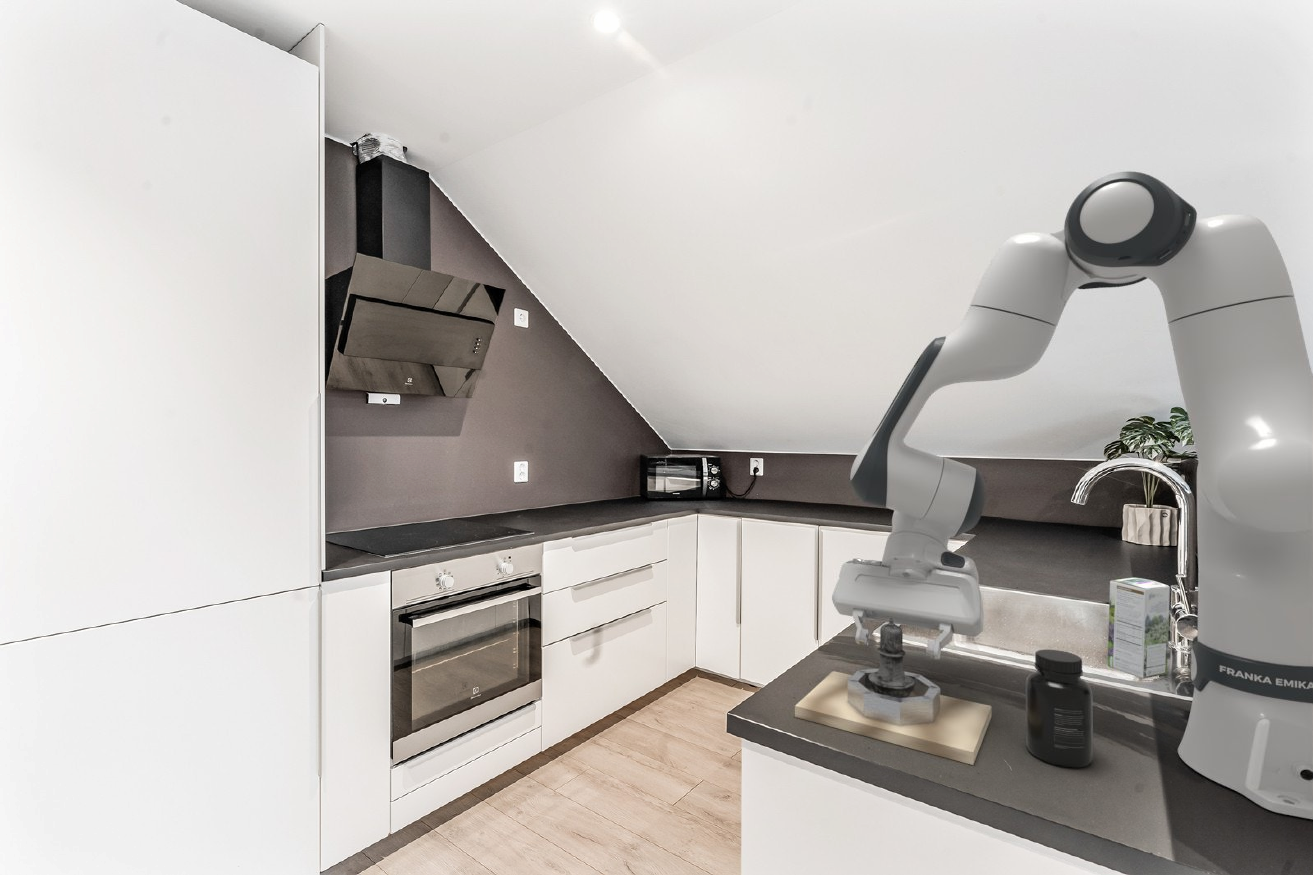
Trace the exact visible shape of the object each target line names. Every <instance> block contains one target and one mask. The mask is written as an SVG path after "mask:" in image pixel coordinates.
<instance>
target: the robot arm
mask: <svg viewBox="0 0 1313 875" xmlns="http://www.w3.org/2000/svg"><path fill="white" fill-rule="evenodd" d="M1197 212H1198V211H1197V210H1196V208H1195V207H1194V206H1193V205H1192V204H1190V203H1189V202H1187V201H1186V200H1185V199H1184V198H1182V197H1181V196H1180V195H1179V194H1177V193H1176V192H1175V191H1174V190H1173V189H1171V187H1169V186H1168V185H1167V184H1165V183H1164V182H1162V181H1161V180H1160V179H1157V178H1156V177H1154V176H1152V175H1150V174H1147V173H1143V172H1138V171H1119V172H1114V173H1111V174H1110V173H1109V174H1108V175H1107V174H1106V175H1104V176H1103V177H1100V178H1099V179H1097V180H1094V181H1093V182H1092V183H1090V184H1089V185H1088V186H1086V187H1085V188H1084V189H1083V190H1082V191H1081V192H1080V193H1079V194H1078V195H1077V196H1076V197H1075V198H1074V200H1073V202H1072V203H1071V205H1070V207H1069V209H1068V211H1067V213H1066V216H1065V220H1064V225H1063V227H1064V228H1063V229H1061V230H1060V231H1057V232H1051V233H1047V232H1041V231H1040V232H1039V231H1032V232H1023V233H1019V234H1015V235H1013V236H1011V237H1009V238H1008V239H1007V240H1005V241H1004V242H1003V243H1001V245H1000V247H999V248H998V249H997V251H996V253H995V255H994V256H993V258H992V259H991V260H990V263H989V264H988V265H987V268H986V269H985V272H984V273H983V276H981V279H980V280H979V281H980V282H979V284H978V285H977V288H976V290H975V292H974V293H973V296H972V299H971V301H970V304H969V307H968V309H967V312H966V314H965V315H964V316H963V319H962V320H961V322H960V323H959V324H958V325H957V326H956V327H955V328H954V329H953V330H952V331H951V332H950V333H949V334H947V335H944V336H940V337H935V338H934V339H933V340H931V342H929V344H928V345H927V346H926V347H925V349H924V350H923V351H922V353H921V354H920V355H919V357H918V358H917V361H916V362H915V364H914V365H913V367H912V368H911V370H910V371H909V373H908V374H907V375H906V378H905V380H904V381H903V383H902V385H901V386H900V388H899V390H898V391H897V393H896V395H895V396H894V398H893V399H892V402H891V403H890V405H889V407H888V409H886V412H885V413H884V416H883V418H881V420H880V423H879V424H878V426H877V427H876V429H875V430H874V432H873V434H872V435H871V437H870V439H868V441H867V442H866V443H865V445H864V446H863V447H862V448H861V450H860V451H858V452H859V453H858V454H857V455H856V457H855V459H854V460H853V463H852V466H851V469H850V474H849V476H850V477H849V478H850V479H849V484H850V486H851V488H852V489H853V491H854V493H855V495H856V496H857V498H859V499H860V501H861V502H862V503H863V504H866V505H870V506H874V507H878V508H883V509H889V510H892V511H893V514H892V518H891V525H892V529H891V532H890V533H889V535H888V537H887V539H886V542H885V547H884V552H883V554H882V560H873V559H868V560H867V559H861V558H853V559H852V560H848V561H846V562H844V563H843V564H842V565H841V568H840V571H839V578H838V580H837V583H836V585H835V588H834V590H833V593H832V596H831V601H832V603H833V605H834V607H835V609H836V611H837V613H838V614H839V615H842V616H848V617H852V618H853V620H854V621H853V622H854V624H855V626H856V633H855V638H854V640H855V643H856V644H857V645H861V646H866V647H867V646H869V644H870V642H869V641H870V638H871V634H870V632H869V630H868V629H867V628H863V626H862V625H865V624H866V621H867V620H870V621H871V620H872V621H878V622H884V623H890V621H889V620H890V618H892V619H893V620H894V622H893V623H894V624H895V625H902V626H908V627H913V628H920V629H926V630H930V631H938V632H939V635H938V636H937V637H936V638H935V639H934V640H927V643H926V645H927V647H926V648H925V649H926V650H925V652H926V657H927V658H929V659H933V660H940V659H941V652H942V650H943V649H944V648H945V647H946V646H947V645H948V644H949V643H950V642H951V641H952V639H953V635H961V636H967V637H972V638H976V637H978V636H979V635H981V633H983V631H984V624H985V623H984V620H985V617H984V616H985V615H984V604H983V599H982V592H981V588H980V584H979V582H980V581H979V578H980V577H979V572H978V568H977V566H976V563H975V561H974V559H972V558H971V557H968V556H965V555H963V554H959V553H957V552H954V551H952V550H950V549H949V548H948V543H949V541H950V538H957V537H959V536H962V535H963V534H965V533H967V532H968V531H970V530H972V529H973V528H975V526H977V524H978V522H979V521H980V519H981V517H982V514H983V510H984V507H985V501H986V495H987V494H986V493H987V485H986V482H985V480H984V477H983V476H982V474H981V472H980V471H979V470H978V468H976V467H973V466H972V465H968V464H966V463H963V462H961V461H960V462H959V461H956V460H954V459H950V458H948V457H944V456H938V455H936V454H933V453H929V452H926V451H923V450H920V449H917V448H914V447H911V446H908V445H907V444H906V443H905V438H906V437H907V435H908V433H909V432H910V430H911V428H912V426H913V424H914V423H915V421H916V420H917V418H918V416H919V415H920V414H921V412H922V410H923V408H924V406H925V404H926V403H927V402H928V400H929V399H930V398H931V396H932V395H933V394H934V393H935V392H937V391H938V390H939V389H942V388H944V387H947V386H950V385H954V384H960V383H961V384H962V383H973V382H974V383H975V382H988V381H990V382H991V381H999V380H1006V379H1010V378H1013V377H1017V376H1019V375H1021V374H1024V373H1025V372H1027V371H1029V370H1031V369H1032V368H1033V367H1034V366H1036V365H1037V364H1038V363H1039V362H1040V360H1041V359H1042V357H1043V355H1044V354H1045V352H1046V351H1047V349H1048V348H1049V345H1050V343H1051V342H1052V339H1053V336H1054V334H1055V332H1056V329H1057V327H1058V325H1059V322H1060V319H1061V316H1062V315H1063V311H1064V309H1065V307H1066V305H1067V303H1068V301H1069V299H1070V298H1071V296H1072V295H1073V293H1074V292H1075V291H1076V290H1077V289H1078V290H1089V289H1090V290H1092V289H1102V288H1103V289H1107V288H1109V289H1110V288H1121V287H1127V286H1131V285H1134V284H1138V283H1141V282H1143V281H1145V280H1147V279H1148V280H1150V281H1151V282H1153V283H1154V285H1155V286H1156V287H1157V288H1158V290H1159V292H1160V294H1161V295H1160V296H1161V297H1162V300H1163V305H1164V309H1165V315H1166V320H1167V324H1168V326H1167V327H1168V330H1169V335H1170V341H1171V345H1172V351H1173V354H1174V359H1175V364H1176V370H1177V375H1178V380H1179V384H1180V390H1181V393H1182V397H1183V400H1184V405H1185V409H1186V413H1187V417H1188V421H1189V426H1190V430H1191V434H1192V438H1193V439H1192V440H1193V443H1194V448H1195V451H1196V457H1197V461H1198V464H1197V470H1196V514H1197V515H1196V520H1197V521H1196V525H1197V526H1196V527H1197V528H1196V529H1197V532H1196V533H1197V564H1198V565H1197V567H1198V569H1197V570H1198V574H1197V575H1198V579H1197V581H1198V585H1197V587H1198V589H1197V590H1198V591H1197V593H1198V594H1197V635H1196V636H1195V637H1193V639H1192V648H1190V680H1191V682H1192V686H1193V694H1192V695H1193V696H1192V701H1191V707H1190V713H1189V717H1188V720H1187V724H1186V728H1185V731H1184V733H1183V736H1182V738H1181V742H1180V744H1179V745H1178V748H1177V753H1178V756H1179V758H1181V760H1182V761H1183V762H1184V763H1185V764H1186V765H1187V766H1189V767H1190V768H1191V769H1193V770H1194V771H1195V772H1197V773H1199V774H1201V775H1202V776H1204V777H1206V778H1208V779H1210V780H1211V781H1214V782H1216V783H1217V784H1219V785H1222V786H1224V787H1227V788H1229V789H1231V790H1234V791H1236V792H1237V793H1240V794H1241V795H1243V796H1245V797H1246V798H1247V799H1249V800H1251V801H1252V802H1254V803H1255V804H1256V805H1258V806H1260V807H1262V808H1264V809H1266V810H1269V811H1271V812H1274V813H1277V814H1283V815H1286V816H1287V815H1289V816H1293V817H1298V818H1303V819H1310V820H1313V371H1312V367H1311V363H1310V360H1309V356H1308V351H1307V347H1306V343H1305V342H1306V341H1305V338H1304V333H1303V329H1302V328H1303V327H1302V325H1301V324H1302V323H1301V320H1300V315H1299V311H1298V304H1297V302H1296V298H1295V292H1294V289H1293V285H1292V281H1291V279H1290V275H1289V271H1288V269H1287V266H1286V263H1285V261H1284V259H1283V256H1282V253H1281V252H1280V249H1279V247H1278V245H1277V243H1276V240H1275V239H1274V237H1273V234H1271V231H1270V230H1269V228H1268V226H1267V225H1266V224H1265V222H1263V221H1262V220H1261V219H1259V218H1258V217H1255V216H1252V215H1249V214H1242V213H1226V214H1219V215H1218V214H1217V215H1214V216H1211V217H1206V218H1200V219H1197V217H1198V213H1197Z"/></svg>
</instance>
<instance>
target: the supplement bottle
mask: <svg viewBox="0 0 1313 875" xmlns="http://www.w3.org/2000/svg"><path fill="white" fill-rule="evenodd" d="M1034 658H1035V662H1034V669H1035V670H1036V671H1033V672H1031V673H1030V674H1028V676H1027V677H1026V679H1025V741H1026V747H1027V750H1028V751H1029V752H1030V753H1031V755H1033V756H1034V757H1036V759H1037V758H1038V759H1039V760H1042V761H1043V762H1046V763H1049V764H1052V765H1054V766H1055V765H1056V766H1060V767H1065V768H1084V767H1086V766H1088V765H1090V764H1091V763H1092V760H1093V753H1094V752H1093V747H1094V746H1093V745H1094V743H1093V742H1094V738H1093V734H1094V733H1093V729H1094V727H1093V725H1094V724H1093V723H1094V722H1093V713H1094V712H1093V711H1094V710H1093V706H1094V705H1093V702H1094V701H1093V690H1092V688H1091V686H1090V685H1089V683H1088V682H1087V681H1085V680H1084V679H1083V678H1082V676H1083V674H1084V673H1083V659H1082V658H1081V656H1079V655H1077V654H1075V653H1072V652H1068V651H1065V650H1060V649H1050V648H1049V649H1048V648H1047V649H1039V650H1037V651H1036V652H1035V655H1034Z"/></svg>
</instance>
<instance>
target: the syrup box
mask: <svg viewBox="0 0 1313 875" xmlns="http://www.w3.org/2000/svg"><path fill="white" fill-rule="evenodd" d="M1170 589H1171V587H1170V586H1169V585H1168V584H1164V583H1161V582H1160V581H1159V582H1158V581H1156V580H1151V579H1146V578H1141V577H1128V578H1121V579H1112V580H1110V581H1109V602H1108V603H1109V604H1108V606H1109V607H1108V635H1107V637H1108V640H1107V641H1108V642H1107V666H1108V667H1109V668H1111V669H1114V670H1116V671H1119V672H1123V673H1124V674H1127V675H1132V676H1134V677H1137V678H1141V679H1142V680H1143V679H1149V678H1153V677H1158V676H1159V677H1160V676H1162V675H1166V674H1167V673H1168V657H1169V656H1168V652H1169V651H1168V650H1169V623H1170V622H1169V618H1170V591H1171V590H1170Z"/></svg>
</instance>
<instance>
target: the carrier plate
mask: <svg viewBox="0 0 1313 875" xmlns="http://www.w3.org/2000/svg"><path fill="white" fill-rule="evenodd" d="M853 675H854V674H853ZM853 675H852V674H847V673H844V672H838V671H834V670H833V671H831V672H830V673H829V674H828V675H827V676H826V677H824V679H823V680H821V682H819V683H818V684H817V685H816V686H815V687H813V689H812V690H811V691H809V692H808V693H807V694H806V695H805V696H804V697H803V698H802V699H801V700H800V701H798V702H797V703H796V704H795V705H794V717H795V718H798V719H802V720H805V721H810V722H812V723H817V724H820V725H824V726H828V727H832V728H835V729H839V730H842V731H846V732H850V733H853V734H857V735H861V736H864V737H869V738H873V739H876V740H879V741H883V742H886V743H890V744H894V745H896V746H902V747H905V748H908V749H912V750H915V751H919V752H923V753H927V754H931V755H934V756H938V757H941V758H945V759H949V760H952V761H957V762H960V763H963V764H967V765H972V766H974V764H975V762H976V759H977V756H978V754H979V750H981V749H980V748H981V746H982V743H983V740H984V737H985V735H986V733H987V729H988V727H989V724H990V722H991V721H992V720H991V719H992V716H993V715H992V713H993V712H992V709H993V707H992V705H988V704H984V703H979V702H975V701H970V700H966V699H961V698H956V697H951V696H948V695H944V694H940V711H939V713H938V715H937V716H936V718H935V720H934V722H933V723H927V724H917V725H906V726H898V725H894V724H890V723H886V722H882V721H878V720H874V719H871V718H867V717H864V716H862V715H861V714H860V713H859V712H858V711H857V710H856V709H855V708H854V707H852V706H851V705H850V704H849V703H848V680H849V679H850V678H851V677H852V676H853ZM907 698H908V697H907Z"/></svg>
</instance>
